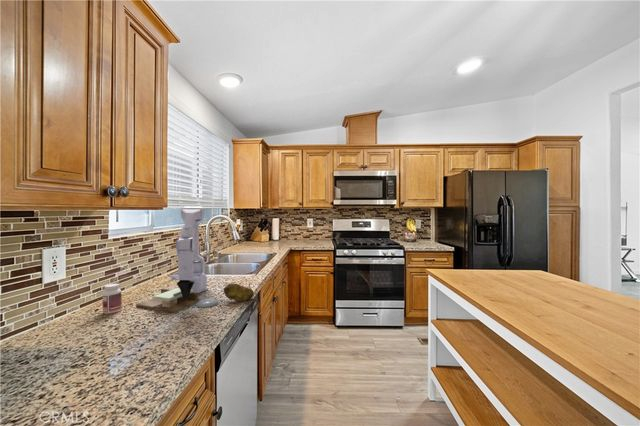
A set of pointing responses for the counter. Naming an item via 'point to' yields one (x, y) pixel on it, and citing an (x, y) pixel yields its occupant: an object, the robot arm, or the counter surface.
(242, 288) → the potato
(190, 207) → the robot arm
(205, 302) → the saucer
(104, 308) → the pill bottle
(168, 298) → the cover
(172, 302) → the block
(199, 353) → the counter surface
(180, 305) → the board
